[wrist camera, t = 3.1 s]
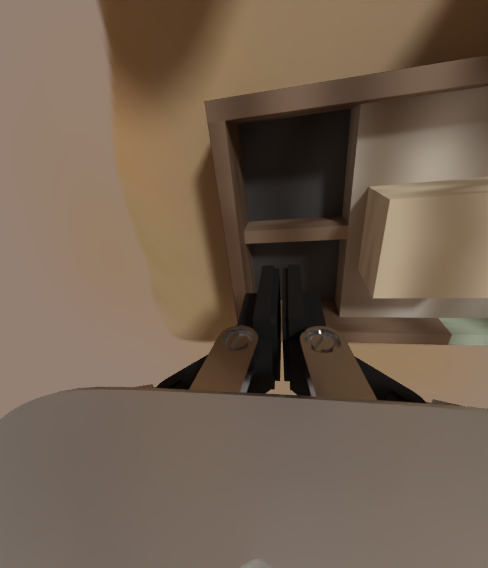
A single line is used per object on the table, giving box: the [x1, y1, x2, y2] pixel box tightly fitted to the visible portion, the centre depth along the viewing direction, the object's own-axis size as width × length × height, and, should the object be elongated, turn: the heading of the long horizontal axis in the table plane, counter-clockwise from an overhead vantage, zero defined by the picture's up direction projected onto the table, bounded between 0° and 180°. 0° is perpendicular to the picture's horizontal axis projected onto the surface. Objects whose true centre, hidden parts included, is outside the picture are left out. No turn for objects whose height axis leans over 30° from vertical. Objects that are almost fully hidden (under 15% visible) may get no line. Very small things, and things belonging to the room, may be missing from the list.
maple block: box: [358, 177, 488, 298], centre depth 15 cm, size 7×6×4 cm
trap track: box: [204, 55, 488, 346], centre depth 17 cm, size 26×17×5 cm, turn 96°
